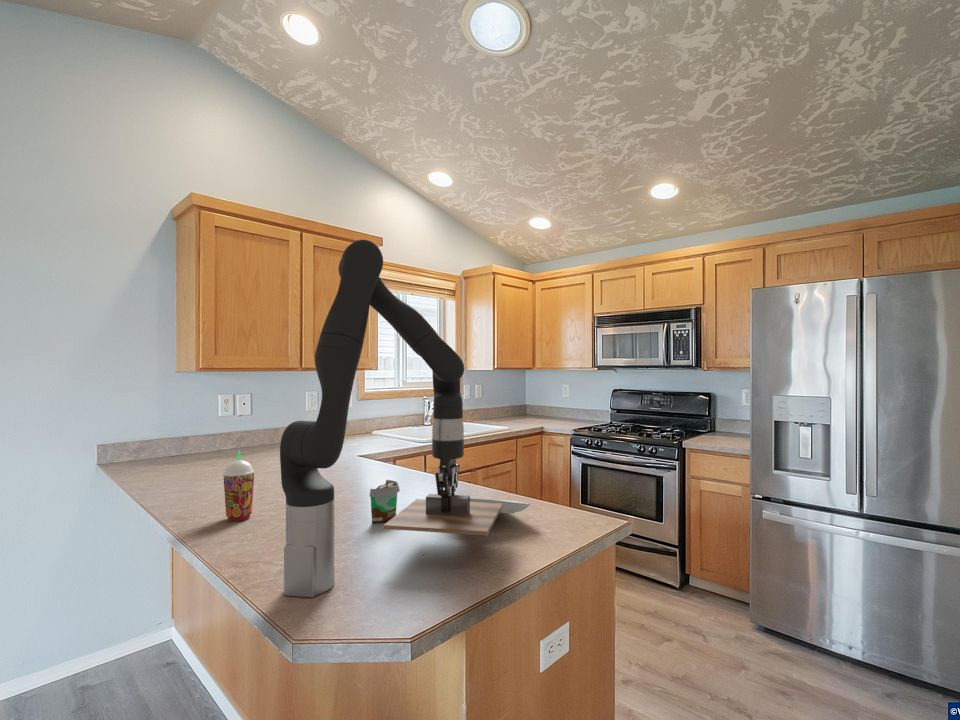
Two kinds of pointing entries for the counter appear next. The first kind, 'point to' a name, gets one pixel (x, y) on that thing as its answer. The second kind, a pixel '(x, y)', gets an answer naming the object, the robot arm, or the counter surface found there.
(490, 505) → the cover board
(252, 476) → the smoothie
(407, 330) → the robot arm
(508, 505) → the salad plate
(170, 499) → the counter surface
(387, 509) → the food container
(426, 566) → the counter surface
